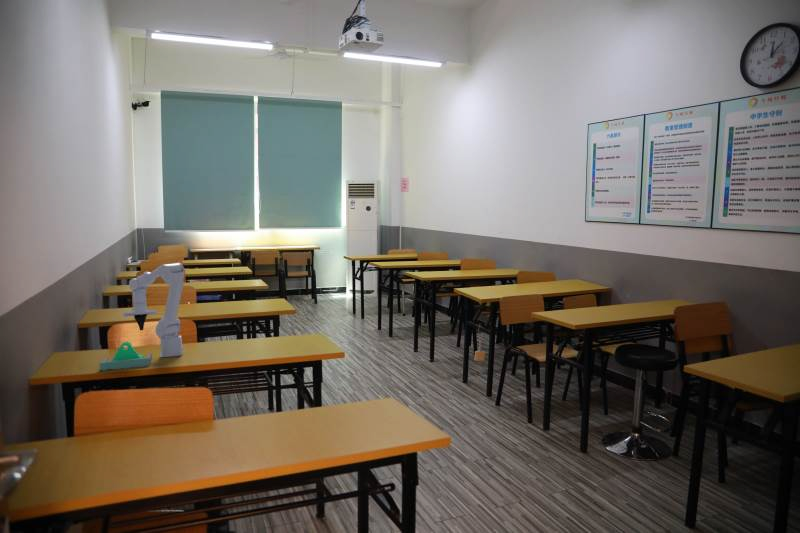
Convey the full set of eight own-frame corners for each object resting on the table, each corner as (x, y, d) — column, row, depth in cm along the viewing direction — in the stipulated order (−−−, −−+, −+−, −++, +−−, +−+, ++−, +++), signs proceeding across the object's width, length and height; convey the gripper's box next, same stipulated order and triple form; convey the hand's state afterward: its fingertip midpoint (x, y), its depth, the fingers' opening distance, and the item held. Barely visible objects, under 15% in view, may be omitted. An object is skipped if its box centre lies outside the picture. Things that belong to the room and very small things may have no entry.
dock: (152, 358, 249) (151, 350, 249) (148, 365, 237) (148, 358, 236) (105, 362, 243) (105, 355, 242) (100, 370, 230) (99, 362, 230)
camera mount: (143, 360, 247) (141, 338, 246) (141, 364, 240) (139, 341, 239) (114, 362, 243) (112, 340, 242) (111, 367, 236) (109, 344, 235)
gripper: (156, 300, 267) (158, 326, 268) (124, 302, 262) (126, 329, 264) (155, 302, 260) (157, 329, 262) (122, 304, 255) (124, 332, 257)
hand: (141, 329), depth 262 cm, fingers closed
